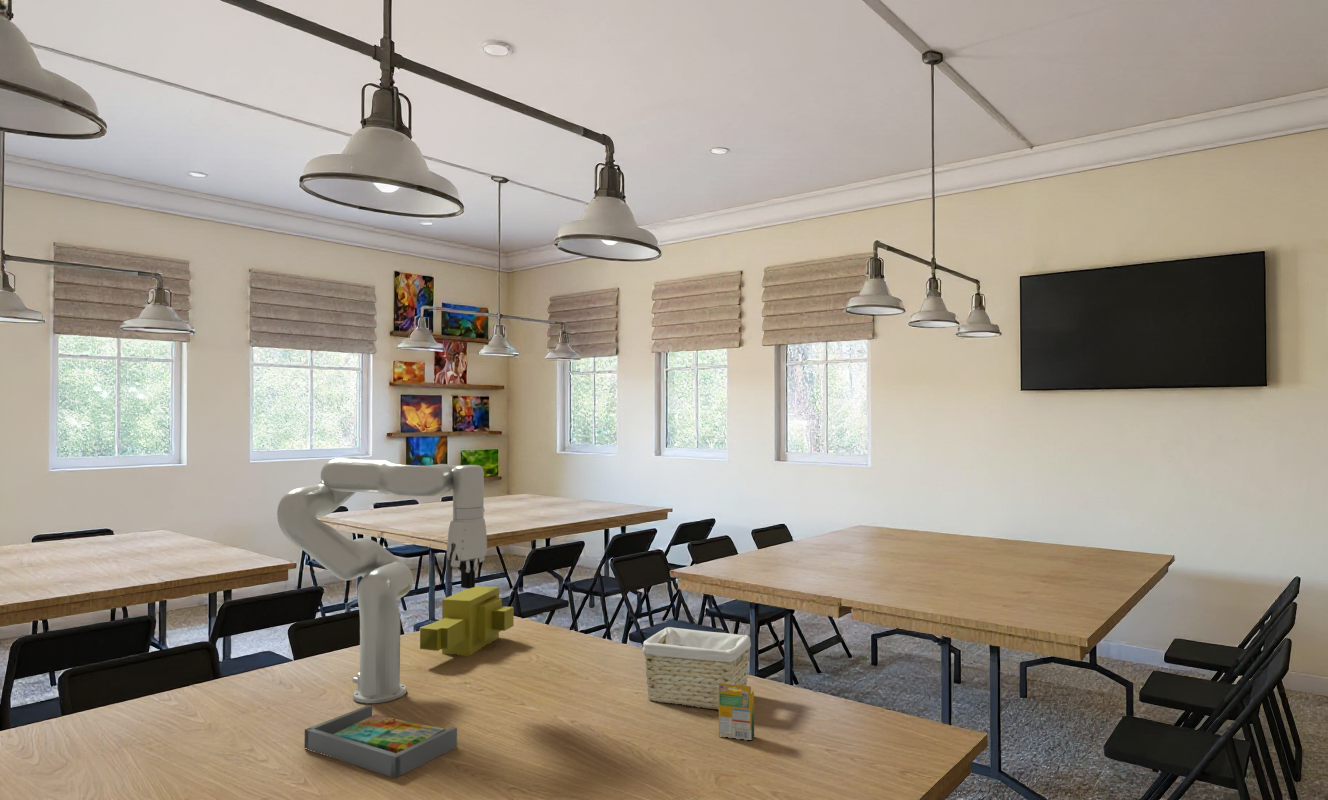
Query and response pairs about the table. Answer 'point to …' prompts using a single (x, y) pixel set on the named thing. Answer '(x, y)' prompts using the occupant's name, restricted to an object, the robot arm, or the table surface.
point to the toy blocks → (468, 622)
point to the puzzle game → (388, 733)
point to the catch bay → (373, 757)
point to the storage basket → (694, 665)
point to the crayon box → (736, 712)
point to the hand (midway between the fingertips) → (467, 587)
